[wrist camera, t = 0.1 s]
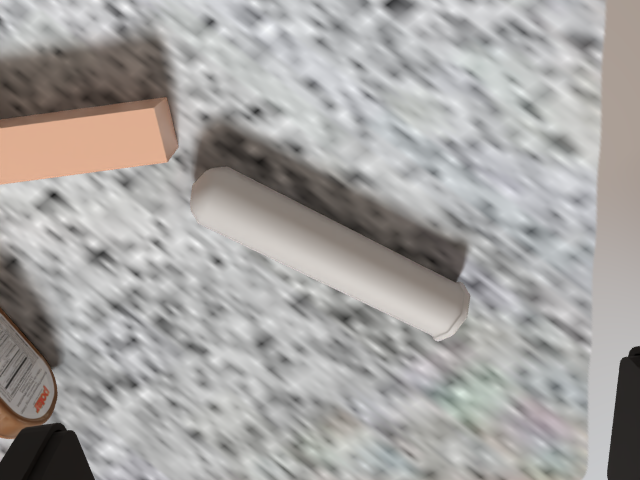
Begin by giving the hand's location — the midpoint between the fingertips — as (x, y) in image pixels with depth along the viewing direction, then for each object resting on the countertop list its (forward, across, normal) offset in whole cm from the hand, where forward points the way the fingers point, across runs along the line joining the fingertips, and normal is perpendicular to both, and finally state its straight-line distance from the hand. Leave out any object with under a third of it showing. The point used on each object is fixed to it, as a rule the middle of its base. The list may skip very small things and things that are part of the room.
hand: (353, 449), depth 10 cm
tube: (+37, 0, +13) cm, 39 cm away
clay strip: (+37, +19, +1) cm, 42 cm away
